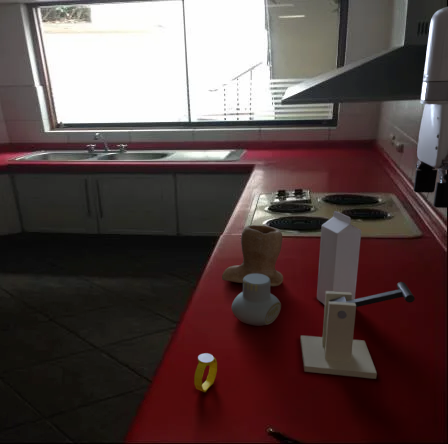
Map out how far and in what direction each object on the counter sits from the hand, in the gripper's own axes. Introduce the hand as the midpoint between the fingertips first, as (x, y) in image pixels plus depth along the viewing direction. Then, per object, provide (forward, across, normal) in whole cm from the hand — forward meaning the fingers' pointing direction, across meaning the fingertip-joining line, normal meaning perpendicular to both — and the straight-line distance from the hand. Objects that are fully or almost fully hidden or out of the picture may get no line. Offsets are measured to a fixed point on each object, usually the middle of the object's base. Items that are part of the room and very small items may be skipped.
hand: (433, 199), depth 70 cm
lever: (+19, -4, +9) cm, 21 cm away
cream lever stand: (+30, -4, +14) cm, 34 cm away
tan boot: (+31, +28, +30) cm, 51 cm away
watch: (+31, -16, +37) cm, 51 cm away
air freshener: (+31, +8, +29) cm, 43 cm away
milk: (+31, +18, +11) cm, 37 cm away
